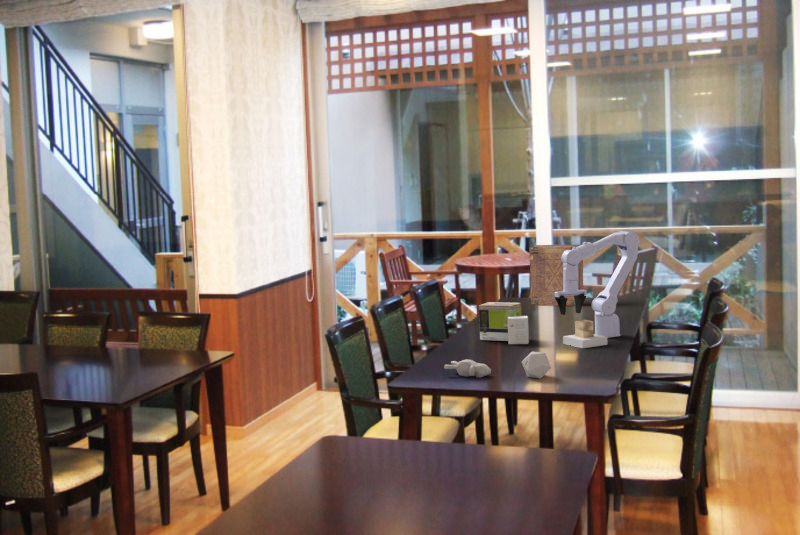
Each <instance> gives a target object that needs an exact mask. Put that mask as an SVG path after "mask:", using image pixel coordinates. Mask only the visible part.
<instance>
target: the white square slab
mask: <svg viewBox="0 0 800 535" xmlns="http://www.w3.org/2000/svg"><path fill="white" fill-rule="evenodd" d="M562 336H563V337H562V344H563V345H567V346H570V345H571V347H576V348H579V349H588V348H589V349H590V348H592V347H593V348H594V347H600V346H607V345H608V338H607V337H605V336H601V335H596V334H595V333H594V337H587V338H581V337H576V336H575V334H570V335H569V334H568V335H562Z"/></svg>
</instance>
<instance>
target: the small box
mask: <svg viewBox="0 0 800 535" xmlns="http://www.w3.org/2000/svg"><path fill="white" fill-rule="evenodd" d="M507 322H508V341H507V342H508V345H529V342H530V336H529V335H530V334H529V333H530V332H529V331H530V330H529V316H528V315H521V316H509V317H508V318H507Z"/></svg>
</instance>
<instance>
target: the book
mask: <svg viewBox="0 0 800 535" xmlns="http://www.w3.org/2000/svg"><path fill="white" fill-rule="evenodd" d="M580 245H581V244H534V245H533V246H529V247H528V248H529V278H530V280H529V281H530V282H529V284H530V286H529V287H530V305H531V306H549V307H550V306H553V307H555V306H556V307H557V306H558V303H557V301H556V300H555V292H559V291H563V268H564V264H563V262H562V260H561V257H562V254H563V253H564V251H566V250H572V248H573V247H578V246H580ZM583 266H584V262H583V260H581V261H580V262H579V264H578V290H584V270H583V269H584V267H583ZM568 295H569V294H568ZM564 297H565V298H567V303H566V307H569V306H570V307H575V299H574V296H564ZM558 307H559V306H558Z"/></svg>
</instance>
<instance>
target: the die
mask: <svg viewBox="0 0 800 535" xmlns="http://www.w3.org/2000/svg"><path fill="white" fill-rule="evenodd" d="M521 365H522V367H523V369H524V371H525V374H526V377H528V378H533V379H534V378H535V379H541V378H543V377H544V376H545V375H546V374H547V373H548V372H549V371H550V370H551V369H552V366H551V364H550V361H549V359H548V356H547V353H546V352H540V351H531V352H530V353H529V354H528V355H527V356H525V357H524V359H523V360H522V361H521Z"/></svg>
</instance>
